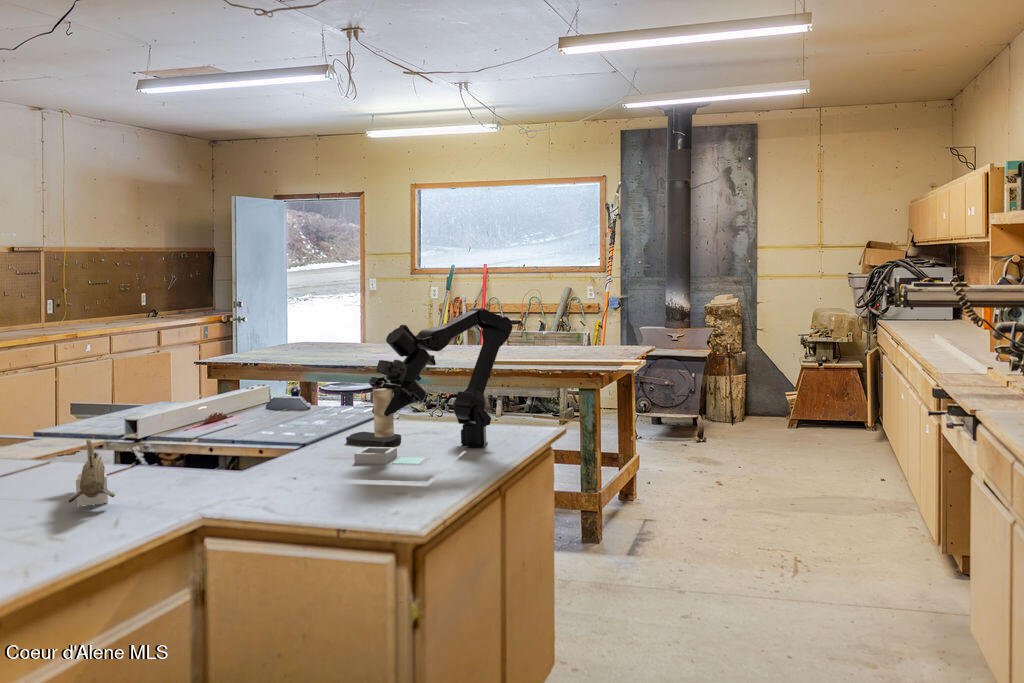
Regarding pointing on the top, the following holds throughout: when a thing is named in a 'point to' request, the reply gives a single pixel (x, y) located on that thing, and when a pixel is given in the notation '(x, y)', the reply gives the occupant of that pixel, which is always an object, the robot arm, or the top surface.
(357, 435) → the black sponge
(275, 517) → the top surface
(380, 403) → the maple post
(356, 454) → the jig board
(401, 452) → the top surface
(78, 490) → the wood carving
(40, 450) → the top surface
